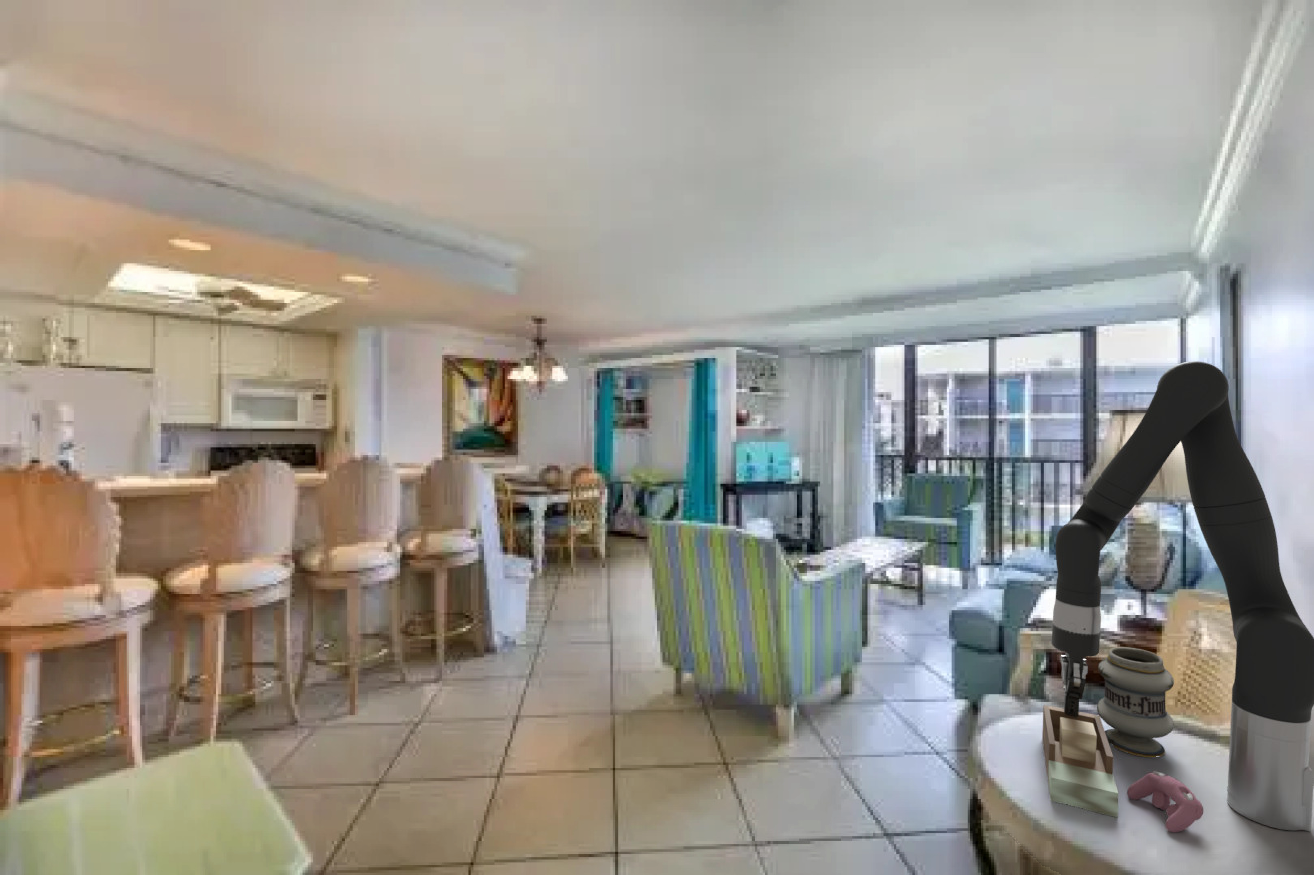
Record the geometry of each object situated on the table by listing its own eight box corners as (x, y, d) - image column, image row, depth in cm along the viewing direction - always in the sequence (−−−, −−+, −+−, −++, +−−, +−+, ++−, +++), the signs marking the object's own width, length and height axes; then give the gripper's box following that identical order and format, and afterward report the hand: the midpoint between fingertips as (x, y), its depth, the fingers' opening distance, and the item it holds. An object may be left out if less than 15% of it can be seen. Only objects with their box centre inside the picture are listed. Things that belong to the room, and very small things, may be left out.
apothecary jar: (1080, 731, 130) (1083, 644, 129) (1130, 726, 132) (1134, 641, 131) (1135, 764, 118) (1139, 668, 117) (1189, 757, 120) (1193, 664, 119)
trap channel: (1098, 751, 122) (1099, 715, 122) (1117, 817, 102) (1119, 775, 102) (1042, 739, 126) (1043, 704, 126) (1050, 800, 107) (1051, 760, 106)
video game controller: (1193, 844, 98) (1215, 805, 98) (1167, 831, 98) (1189, 792, 98) (1145, 805, 108) (1165, 769, 108) (1121, 792, 108) (1141, 757, 108)
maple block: (1091, 750, 115) (1092, 723, 115) (1095, 763, 110) (1096, 735, 110) (1059, 743, 117) (1060, 716, 117) (1061, 756, 113) (1062, 728, 113)
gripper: (1105, 640, 112) (1099, 735, 113) (1095, 618, 124) (1090, 705, 125) (1055, 632, 115) (1050, 725, 116) (1050, 611, 127) (1045, 696, 128)
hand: (1070, 714), depth 120 cm, fingers closed
